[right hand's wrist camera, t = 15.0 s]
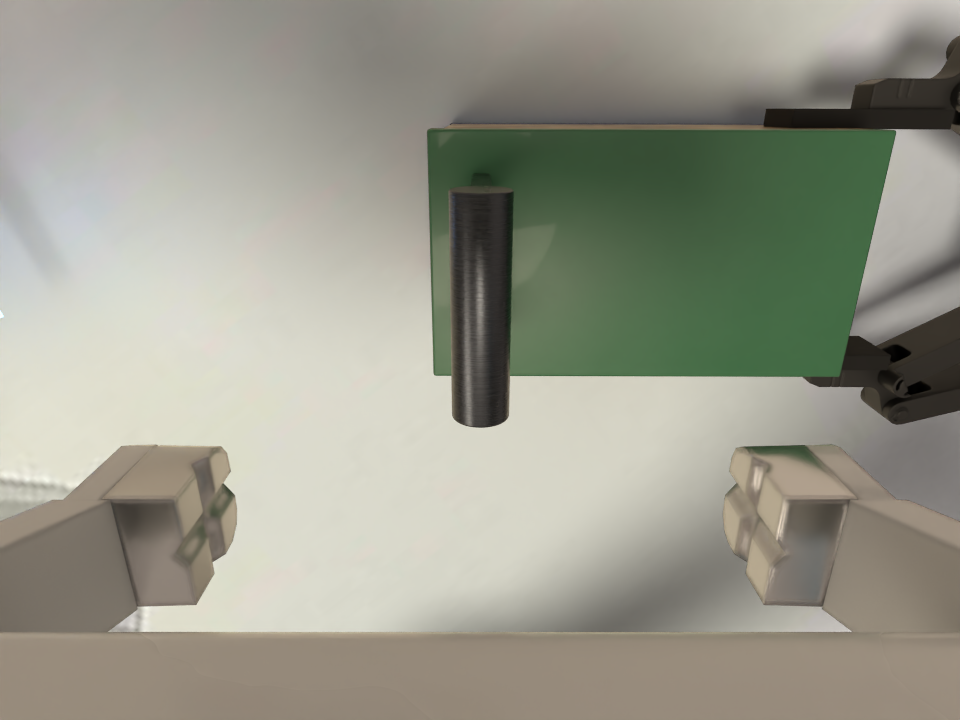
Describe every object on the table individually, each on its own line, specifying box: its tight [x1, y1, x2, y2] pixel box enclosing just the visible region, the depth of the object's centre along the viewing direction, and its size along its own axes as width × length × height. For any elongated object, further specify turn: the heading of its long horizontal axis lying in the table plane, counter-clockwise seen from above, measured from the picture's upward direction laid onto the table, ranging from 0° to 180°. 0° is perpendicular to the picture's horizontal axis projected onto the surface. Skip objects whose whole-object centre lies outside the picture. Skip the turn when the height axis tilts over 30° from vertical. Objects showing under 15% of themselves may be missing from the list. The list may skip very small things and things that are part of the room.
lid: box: [427, 128, 896, 428], centre depth 22 cm, size 17×10×9 cm, turn 90°
